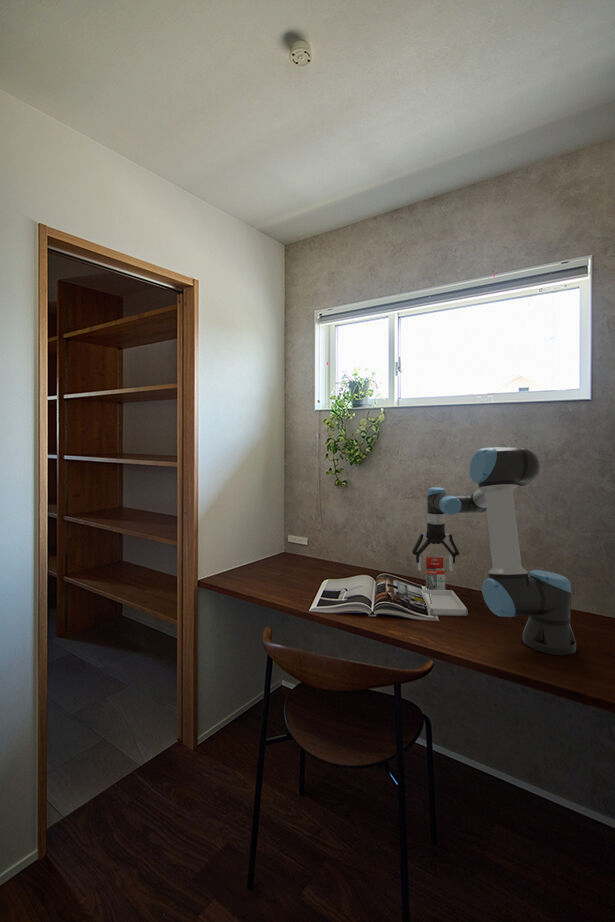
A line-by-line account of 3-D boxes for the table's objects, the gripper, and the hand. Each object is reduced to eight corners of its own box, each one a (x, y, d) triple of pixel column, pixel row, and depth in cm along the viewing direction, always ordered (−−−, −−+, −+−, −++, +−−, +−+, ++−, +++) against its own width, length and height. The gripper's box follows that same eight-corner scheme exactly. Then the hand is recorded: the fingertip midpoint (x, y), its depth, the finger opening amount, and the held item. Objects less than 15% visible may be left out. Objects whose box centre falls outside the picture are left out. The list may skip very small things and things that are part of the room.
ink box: (445, 592, 189) (445, 559, 189) (426, 592, 190) (427, 559, 190) (443, 589, 193) (443, 557, 193) (425, 589, 194) (425, 557, 193)
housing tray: (467, 615, 164) (467, 609, 163) (430, 615, 165) (430, 608, 164) (452, 596, 185) (452, 590, 185) (420, 595, 186) (420, 589, 186)
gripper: (462, 521, 193) (461, 568, 195) (405, 520, 195) (405, 567, 196) (467, 524, 186) (466, 573, 187) (408, 523, 188) (407, 572, 189)
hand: (435, 570), depth 192 cm, fingers open, 13 cm apart
